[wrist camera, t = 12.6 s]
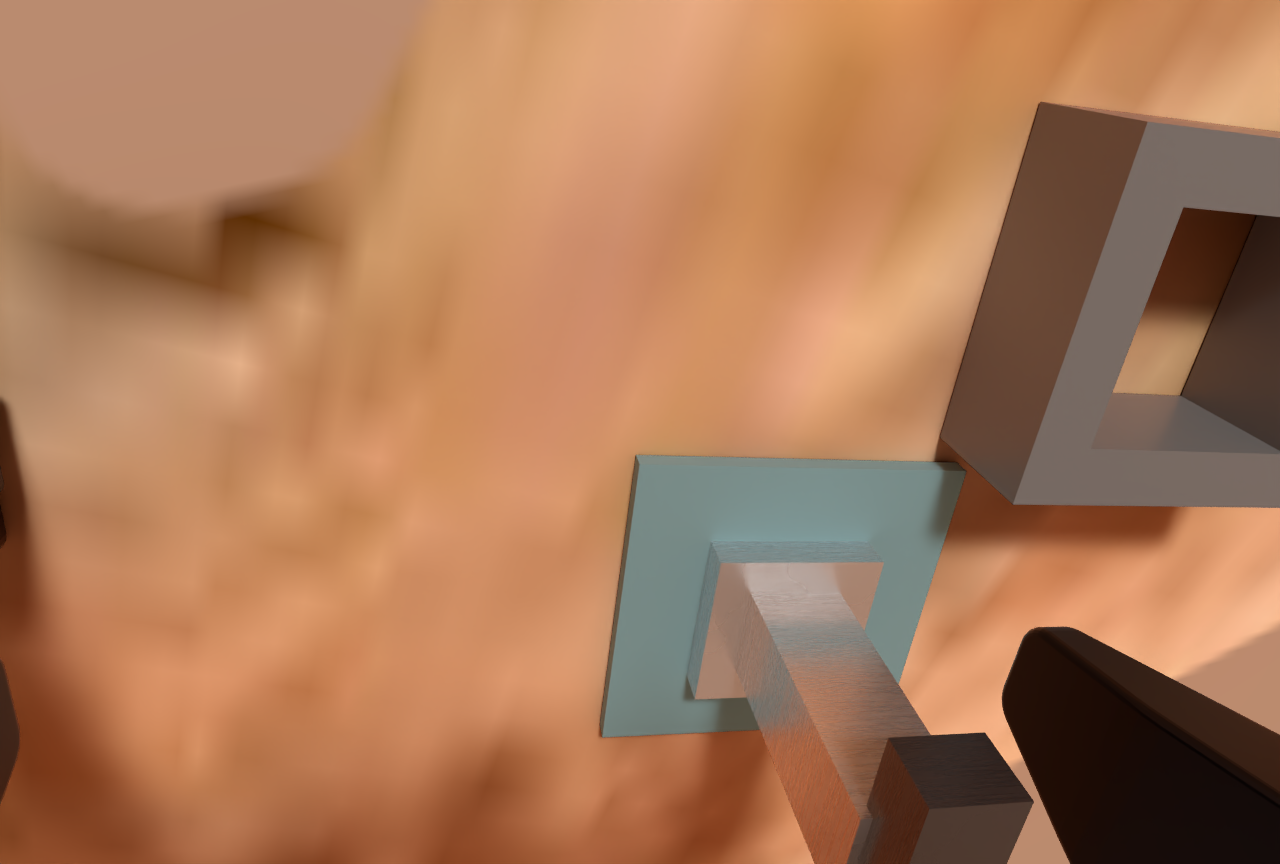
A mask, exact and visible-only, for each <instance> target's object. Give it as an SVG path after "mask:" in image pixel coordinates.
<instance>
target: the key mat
mask: <svg viewBox="0 0 1280 864" xmlns="http://www.w3.org/2000/svg"><path fill="white" fill-rule="evenodd" d="M966 472H967V471H966V470H965V469H964V468H963V467H961V466H960V465H959V464H958V463H957V462H914V461H871V460H829V459H786V458H743V457H701V456H658V455H636V459H635V466H634V474H633V481H632V489H631V496H630V504H629V511H628V518H627V526H626V533H625V541H624V548H623V556H622V563H621V570H620V578H619V585H618V593H617V600H616V608H615V615H614V623H613V630H612V637H611V645H610V652H609V660H608V667H607V675H606V682H605V690H604V697H603V704H602V712H601V719H600V729H601V734H602V737H622V736H643V735H664V734H685V733H705V732H726V731H747V730H760V729H759V726H758V724H757V721H756V719H755V716H754V714H753V711H752V709H751V707H750V704H749V702H748V699H747V697H743V698H718V699H694V696H693V693H692V690H691V687H690V684H689V681H688V678H687V675H686V674H687V669H688V663H689V658H690V652H691V647H692V642H693V636H694V631H695V625H696V620H697V614H698V609H699V604H700V598H701V593H702V587H703V582H704V576H705V571H706V565H707V560H708V555H709V549H710V544H711V541H869V543H870V544H871V545H872V547H873V548H874V549H875V551H876V552H877V553H878V555H879V556H880V557H881V559H882V560H883V561H884V564H883V568H882V571H881V575H880V578H879V582H878V585H877V589H876V592H875V596H874V599H873V603H872V606H871V609H870V613H869V616H868V620H867V623H866V627H865V630H864V631H865V633H866V634H867V636H868V637H869V639H870V641H871V642H872V644H873V645H874V647H875V648H876V650H877V652H878V653H879V655H880V656H881V658H882V659H883V661H884V663H885V664H886V666H887V667H888V669H889V670H890V672H891V674H892V675H893V677H894V678H895V680H896V681H897V683H898V684H899V681H900V678H901V675H902V671H903V668H904V665H905V662H906V659H907V656H908V653H909V650H910V647H911V643H912V640H913V637H914V634H915V631H916V628H917V625H918V622H919V618H920V615H921V612H922V609H923V606H924V603H925V600H926V597H927V593H928V590H929V587H930V584H931V581H932V578H933V575H934V572H935V568H936V565H937V562H938V559H939V556H940V553H941V550H942V547H943V543H944V540H945V537H946V534H947V531H948V528H949V525H950V522H951V519H952V515H953V512H954V509H955V506H956V503H957V500H958V497H959V494H960V490H961V487H962V484H963V481H964V478H965V475H966Z"/></svg>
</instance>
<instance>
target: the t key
mask: <svg viewBox="0 0 1280 864" xmlns="http://www.w3.org/2000/svg"><path fill="white" fill-rule="evenodd" d="M883 564H884V561H883V560H882V559H881V557H880V556H879V555H878V553H877V552H876V551H875V549H874V548H873V547H872V545H871V544H870V543H869V541H711V544H710V549H709V555H708V560H707V565H706V571H705V576H704V582H703V587H702V593H701V598H700V604H699V609H698V614H697V620H696V625H695V631H694V636H693V642H692V647H691V652H690V658H689V663H688V669H687V674H686V675H687V678H688V681H689V684H690V687H691V690H692V693H693V696H694V699H718V698H743V697H747V699H748V702H749V704H750V707H751V709H752V711H753V714H754V716H755V719H756V721H757V724H758V726H759V729H760V731H761V733H762V736H763V738H764V741H765V743H766V746H767V748H768V751H769V753H770V755H771V758H772V760H773V763H774V765H775V768H776V770H777V773H778V775H779V778H780V780H781V782H782V785H783V787H784V790H785V792H786V795H787V797H788V800H789V802H790V804H791V807H792V809H793V812H794V814H795V817H796V819H797V822H798V824H799V826H800V829H801V831H802V834H803V836H804V839H805V841H806V844H807V846H808V849H809V851H810V853H811V856H812V858H813V861H814V863H815V864H1007V862H1008V860H1009V857H1010V855H1011V853H1012V850H1013V848H1014V846H1015V843H1016V841H1017V839H1018V837H1019V834H1020V832H1021V830H1022V828H1023V825H1024V823H1025V821H1026V819H1027V816H1028V814H1029V812H1030V809H1031V807H1032V804H1033V803H1034V801H1033V799H1032V798H1031V797H1030V795H1029V794H1028V792H1027V791H1026V790H1025V788H1024V787H1023V785H1022V784H1021V783H1020V781H1019V780H1018V778H1017V777H1016V776H1015V775H1014V773H1013V771H1012V770H1011V769H1010V767H1009V766H1008V764H1007V763H1006V762H1005V760H1004V759H1003V757H1002V756H1001V755H1000V753H999V752H998V750H997V749H996V747H995V746H994V745H993V743H992V742H991V740H990V739H989V738H988V736H987V735H986V733H968V734H949V735H930V733H929V732H928V730H927V729H926V727H925V726H924V724H923V722H922V721H921V719H920V718H919V716H918V715H917V713H916V711H915V710H914V708H913V707H912V705H911V704H910V702H909V700H908V699H907V697H906V696H905V694H904V693H903V691H902V689H901V688H900V686H899V685H898V683H897V681H896V680H895V678H894V677H893V675H892V674H891V672H890V670H889V669H888V667H887V666H886V664H885V663H884V661H883V659H882V658H881V656H880V655H879V653H878V652H877V650H876V648H875V647H874V645H873V644H872V642H871V641H870V639H869V637H868V636H867V634H866V633H865V631H864V630H865V627H866V623H867V620H868V616H869V613H870V609H871V606H872V603H873V599H874V596H875V592H876V589H877V585H878V582H879V578H880V575H881V571H882V568H883Z"/></svg>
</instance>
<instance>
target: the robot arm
mask: <svg viewBox="0 0 1280 864" xmlns="http://www.w3.org/2000/svg"><path fill="white" fill-rule="evenodd" d="M3 487H4V481H3V477H2V472H1V468H0V491H1V490H2V489H3ZM5 541H6V530H5V525H4V521H3V516H2V512H1V507H0V548H1V547H2V546H3V544H4V543H5ZM1002 707H1003V711H1004V715H1005V718H1006V720H1007V722H1008V725H1009V727H1010V729H1011V732H1012V734H1013V736H1014V738H1015V741H1016V743H1017V745H1018V748H1019V750H1020V752H1021V754H1022V757H1023V759H1024V761H1025V763H1026V766H1027V768H1028V770H1029V773H1030V775H1031V777H1032V780H1033V782H1034V784H1035V786H1036V789H1037V791H1038V793H1039V795H1040V798H1041V800H1042V802H1043V805H1044V807H1045V809H1046V811H1047V814H1048V816H1049V818H1050V821H1051V823H1052V825H1053V827H1054V830H1055V832H1056V834H1057V837H1058V838H1059V841H1060V843H1061V845H1062V847H1063V849H1064V852H1065V853H1066V856H1067V858H1068V860H1069V862H1070V864H1280V735H1279V734H1277V733H1275V732H1273V731H1271V730H1269V729H1267V728H1265V727H1264V726H1262V725H1259V724H1258V723H1256V722H1254V721H1252V720H1250V719H1248V718H1246V717H1244V716H1243V715H1240V714H1238V713H1237V712H1235V711H1233V710H1231V709H1229V708H1227V707H1225V706H1223V705H1221V704H1219V703H1217V702H1216V701H1214V700H1212V699H1210V698H1208V697H1206V696H1204V695H1202V694H1200V693H1198V692H1196V691H1194V690H1192V689H1190V688H1188V687H1186V686H1185V685H1183V684H1181V683H1179V682H1177V681H1175V680H1173V679H1171V678H1169V677H1167V676H1165V675H1164V674H1162V673H1160V672H1158V671H1156V670H1154V669H1152V668H1150V667H1148V666H1146V665H1144V664H1142V663H1140V662H1138V661H1137V660H1135V659H1133V658H1131V657H1129V656H1127V655H1125V654H1123V653H1121V652H1119V651H1117V650H1115V649H1113V648H1112V647H1110V646H1108V645H1106V644H1104V643H1102V642H1100V641H1098V640H1096V639H1094V638H1092V637H1090V636H1088V635H1086V634H1085V633H1083V632H1081V631H1079V630H1076V629H1074V628H1070V627H1038V628H1034V629H1031V630H1030V631H1029V632H1028V633H1027V634H1026V635H1025V636H1024V638H1023V639H1022V642H1021V644H1020V647H1019V649H1018V652H1017V655H1016V657H1015V660H1014V662H1013V665H1012V667H1011V670H1010V672H1009V675H1008V678H1007V680H1006V683H1005V685H1004V688H1003V692H1002ZM19 745H20V729H19V724H18V719H17V715H16V711H15V707H14V703H13V699H12V695H11V691H10V687H9V682H8V678H7V674H6V670H5V666H4V664H3V661H2V659H1V658H0V804H1V801H2V799H3V796H4V793H5V790H6V788H7V785H8V782H9V780H10V777H11V774H12V771H13V769H14V766H15V763H16V760H17V756H18V752H19Z"/></svg>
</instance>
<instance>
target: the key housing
mask: <svg viewBox="0 0 1280 864" xmlns="http://www.w3.org/2000/svg"><path fill="white" fill-rule="evenodd" d="M1183 207H1186V208H1196V209H1206V210H1216V211H1226V212H1235V213H1245V214H1255V215H1257V217H1256V220H1255V222H1254V224H1253V227H1252V229H1251V232H1250V234H1249V236H1248V239H1247V241H1246V243H1245V246H1244V248H1243V250H1242V253H1241V255H1240V258H1239V260H1238V262H1237V265H1236V267H1235V269H1234V272H1233V274H1232V277H1231V279H1230V281H1229V284H1228V286H1227V288H1226V291H1225V293H1224V295H1223V298H1222V300H1221V303H1220V305H1219V307H1218V310H1217V312H1216V314H1215V317H1214V319H1213V322H1212V324H1211V326H1210V329H1209V331H1208V333H1207V336H1206V338H1205V340H1204V343H1203V345H1202V348H1201V350H1200V352H1199V355H1198V357H1197V359H1196V362H1195V364H1194V366H1193V369H1192V371H1191V374H1190V376H1189V378H1188V381H1187V383H1186V385H1185V388H1184V390H1183V393H1182V395H1181V396H1171V395H1149V394H1126V393H1112V392H1113V389H1114V386H1115V384H1116V381H1117V379H1118V376H1119V373H1120V371H1121V368H1122V366H1123V363H1124V360H1125V358H1126V355H1127V353H1128V350H1129V347H1130V345H1131V342H1132V340H1133V337H1134V334H1135V332H1136V329H1137V327H1138V324H1139V322H1140V319H1141V316H1142V314H1143V311H1144V309H1145V306H1146V303H1147V301H1148V298H1149V296H1150V293H1151V290H1152V288H1153V285H1154V283H1155V280H1156V277H1157V275H1158V272H1159V270H1160V267H1161V264H1162V262H1163V259H1164V257H1165V254H1166V251H1167V249H1168V246H1169V244H1170V241H1171V238H1172V236H1173V233H1174V231H1175V228H1176V225H1177V223H1178V220H1179V218H1180V215H1181V212H1182V210H1183ZM940 438H941V439H942V440H943V441H944V442H946V443H947V444H948V445H949V446H950V447H951V448H952V449H953V450H954V451H955V452H956V453H958V454H959V455H960V456H961V457H962V458H963V459H964V460H965V461H966V462H967V463H968V464H969V465H971V466H972V467H973V468H974V469H975V470H976V471H977V472H978V473H979V474H980V475H981V476H982V477H984V478H985V479H986V480H987V481H988V482H989V483H990V484H991V485H992V486H993V487H994V488H995V489H997V490H998V491H999V492H1000V493H1001V494H1002V495H1003V496H1004V497H1005V498H1006V499H1007V500H1008V501H1010V502H1011V503H1012V504H1013V505H1094V506H1177V507H1261V508H1280V132H1275V131H1268V130H1260V129H1252V128H1244V127H1236V126H1228V125H1220V124H1212V123H1204V122H1196V121H1189V120H1181V119H1173V118H1165V117H1157V116H1149V115H1141V114H1133V113H1125V112H1118V111H1110V110H1102V109H1094V108H1086V107H1078V106H1070V105H1062V104H1054V103H1046V102H1040V105H1039V108H1038V112H1037V115H1036V118H1035V122H1034V125H1033V128H1032V132H1031V135H1030V138H1029V142H1028V145H1027V148H1026V152H1025V155H1024V158H1023V162H1022V165H1021V168H1020V172H1019V175H1018V178H1017V182H1016V185H1015V188H1014V192H1013V195H1012V198H1011V202H1010V205H1009V208H1008V212H1007V215H1006V218H1005V222H1004V225H1003V228H1002V232H1001V235H1000V238H999V242H998V245H997V248H996V252H995V255H994V258H993V262H992V265H991V268H990V272H989V275H988V278H987V282H986V285H985V288H984V292H983V295H982V298H981V302H980V305H979V309H978V312H977V315H976V319H975V322H974V325H973V329H972V332H971V335H970V339H969V342H968V345H967V349H966V352H965V355H964V359H963V362H962V365H961V369H960V372H959V375H958V379H957V382H956V385H955V389H954V392H953V395H952V399H951V402H950V405H949V409H948V412H947V415H946V419H945V422H944V425H943V429H942V432H941V435H940Z"/></svg>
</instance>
